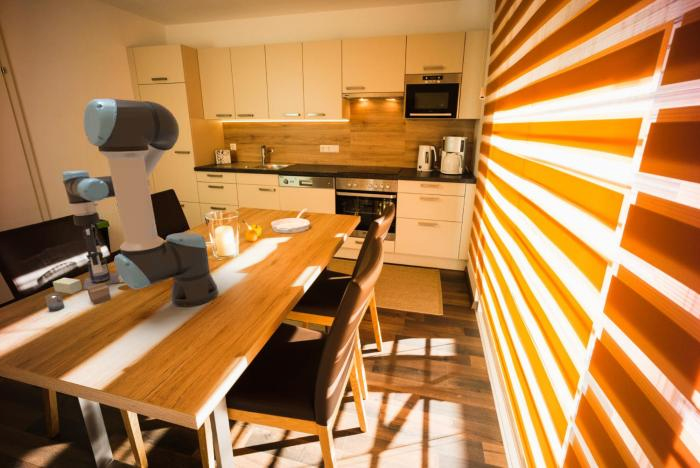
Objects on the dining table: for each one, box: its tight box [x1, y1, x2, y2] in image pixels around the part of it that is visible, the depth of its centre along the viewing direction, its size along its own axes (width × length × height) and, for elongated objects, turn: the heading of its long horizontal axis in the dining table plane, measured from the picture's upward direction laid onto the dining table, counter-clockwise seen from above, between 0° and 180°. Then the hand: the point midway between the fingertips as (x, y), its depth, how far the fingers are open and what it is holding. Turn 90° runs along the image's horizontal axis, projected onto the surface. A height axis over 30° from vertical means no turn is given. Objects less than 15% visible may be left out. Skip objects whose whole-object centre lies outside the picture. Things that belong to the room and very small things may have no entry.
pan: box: [270, 208, 311, 234], centre depth 209 cm, size 24×43×6 cm, turn 169°
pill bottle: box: [86, 251, 111, 283], centre depth 130 cm, size 6×6×11 cm
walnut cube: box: [86, 283, 112, 306], centre depth 117 cm, size 5×5×5 cm
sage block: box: [52, 277, 84, 295], centre depth 124 cm, size 8×4×4 cm, turn 75°
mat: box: [82, 271, 120, 291], centre depth 131 cm, size 11×11×1 cm
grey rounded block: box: [44, 292, 65, 313], centre depth 111 cm, size 4×4×5 cm
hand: (98, 266), depth 129 cm, fingers open, 13 cm apart
